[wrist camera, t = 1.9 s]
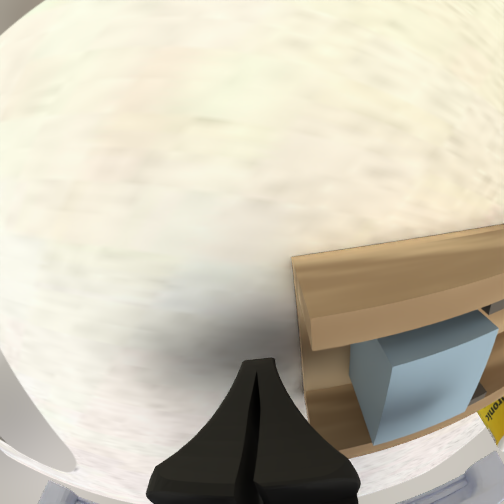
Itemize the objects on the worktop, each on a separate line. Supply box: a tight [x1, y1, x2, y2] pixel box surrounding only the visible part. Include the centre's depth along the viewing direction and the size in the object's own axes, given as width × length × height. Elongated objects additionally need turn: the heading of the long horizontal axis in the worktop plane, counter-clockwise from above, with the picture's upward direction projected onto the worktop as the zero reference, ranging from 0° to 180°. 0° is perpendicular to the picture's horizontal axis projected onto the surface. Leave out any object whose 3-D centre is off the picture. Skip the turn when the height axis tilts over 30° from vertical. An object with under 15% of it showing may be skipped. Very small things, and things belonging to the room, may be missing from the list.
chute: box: [291, 224, 504, 459], centre depth 11 cm, size 9×19×5 cm, turn 99°
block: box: [349, 309, 499, 446], centre depth 10 cm, size 5×5×5 cm
